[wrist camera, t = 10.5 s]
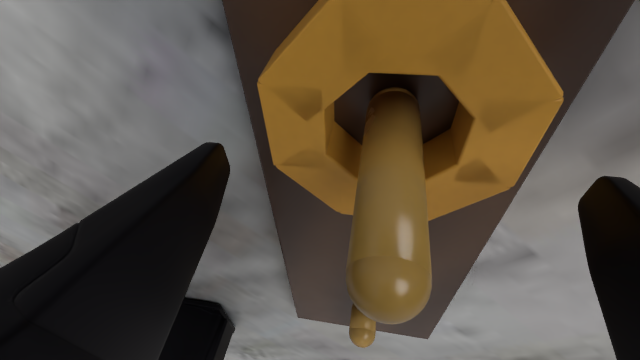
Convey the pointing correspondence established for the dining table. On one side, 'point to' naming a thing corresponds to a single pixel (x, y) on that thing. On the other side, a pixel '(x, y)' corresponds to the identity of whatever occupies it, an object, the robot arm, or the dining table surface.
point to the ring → (413, 59)
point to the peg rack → (397, 173)
